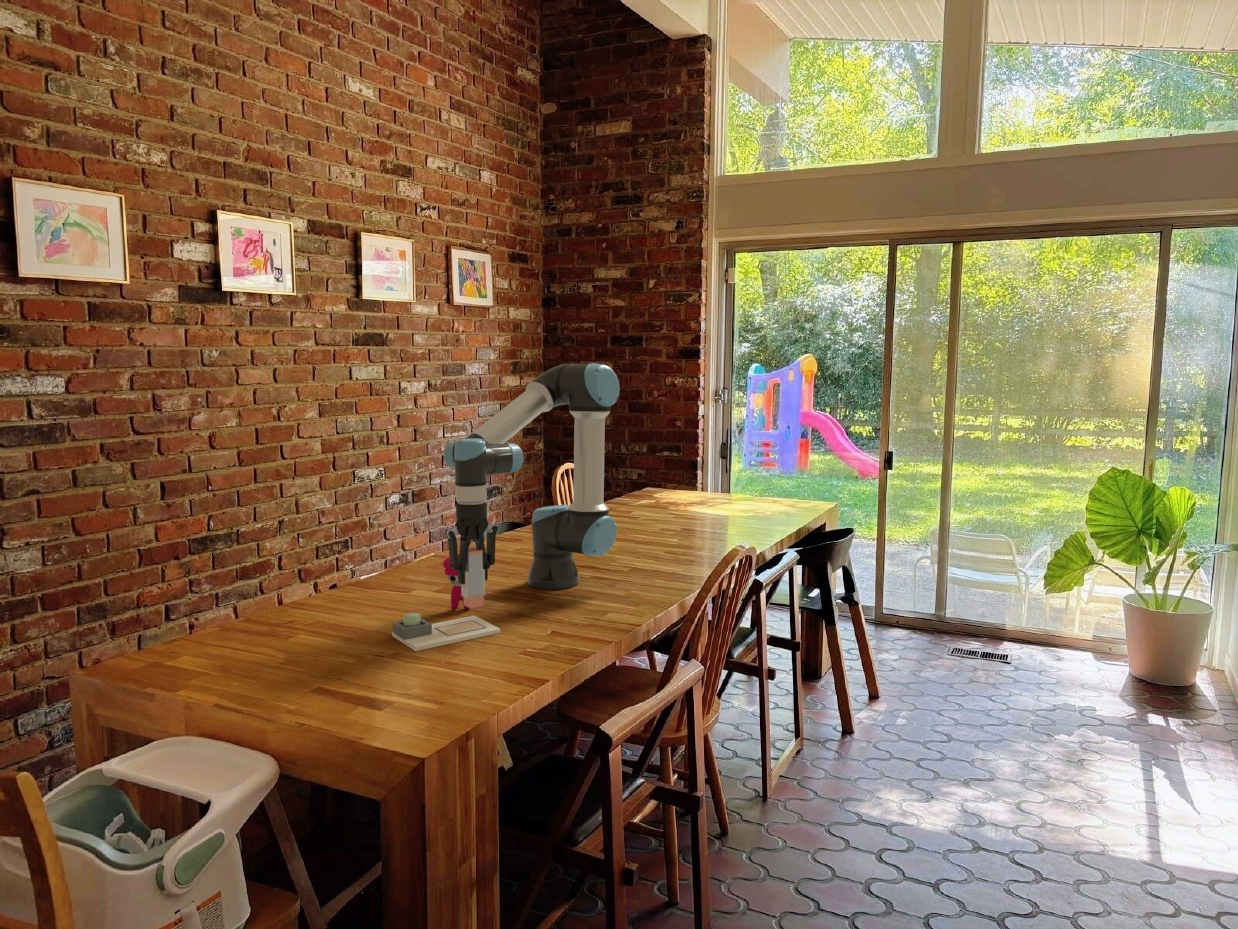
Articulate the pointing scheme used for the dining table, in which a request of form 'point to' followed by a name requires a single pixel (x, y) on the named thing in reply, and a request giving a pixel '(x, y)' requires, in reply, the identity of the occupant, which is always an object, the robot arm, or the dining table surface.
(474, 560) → the grey and pink block
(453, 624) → the panel
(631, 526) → the dining table surface
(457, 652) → the dining table surface
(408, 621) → the button
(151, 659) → the dining table surface
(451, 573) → the toy
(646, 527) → the dining table surface
